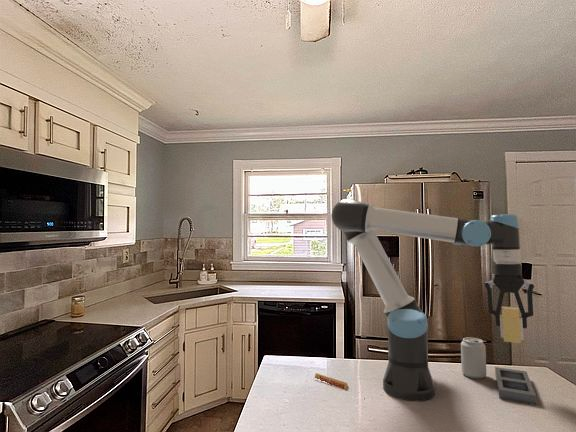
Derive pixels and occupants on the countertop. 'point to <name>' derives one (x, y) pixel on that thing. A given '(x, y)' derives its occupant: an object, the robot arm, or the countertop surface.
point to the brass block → (511, 324)
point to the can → (473, 358)
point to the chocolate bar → (332, 381)
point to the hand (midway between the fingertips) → (511, 337)
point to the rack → (514, 385)
